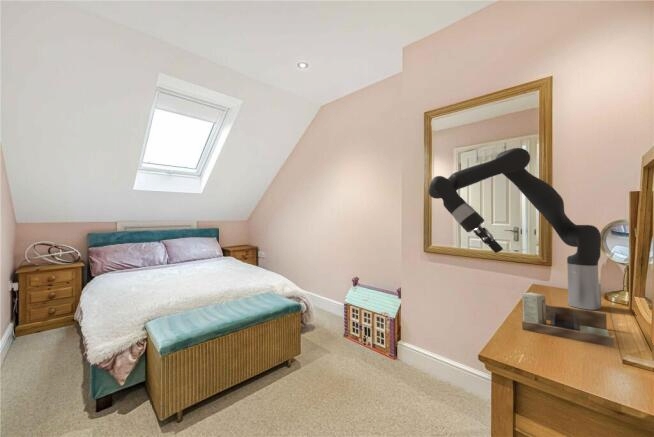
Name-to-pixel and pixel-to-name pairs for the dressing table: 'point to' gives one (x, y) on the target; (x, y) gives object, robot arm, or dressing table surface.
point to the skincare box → (534, 308)
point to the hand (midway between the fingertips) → (499, 251)
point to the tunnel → (574, 325)
